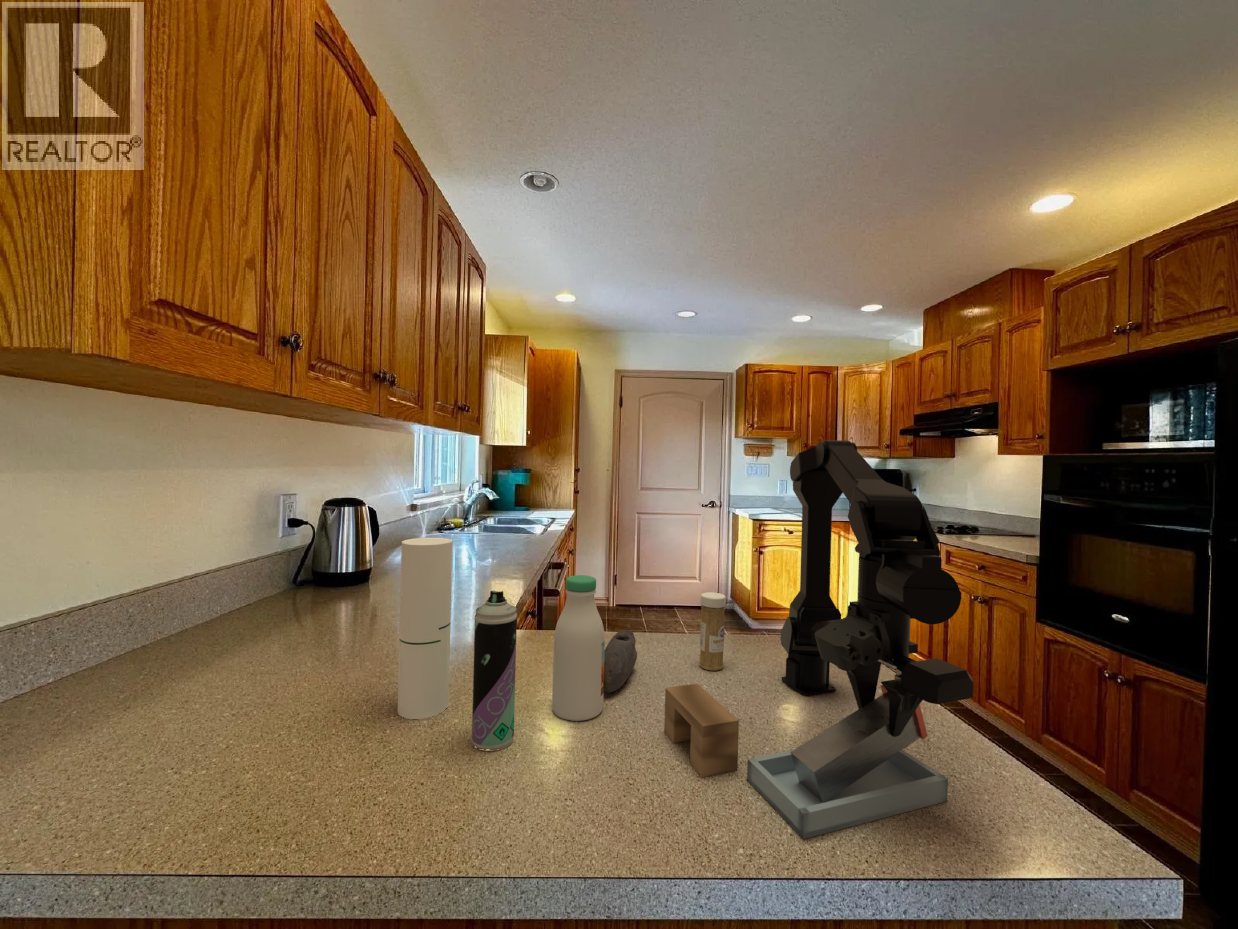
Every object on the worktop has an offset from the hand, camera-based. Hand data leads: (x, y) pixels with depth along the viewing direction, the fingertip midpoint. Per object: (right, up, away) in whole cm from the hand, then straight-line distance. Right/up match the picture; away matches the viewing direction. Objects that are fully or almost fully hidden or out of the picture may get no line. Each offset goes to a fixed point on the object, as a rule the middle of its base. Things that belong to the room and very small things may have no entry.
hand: (879, 726), depth 62 cm
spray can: (-48, -6, +7) cm, 49 cm away
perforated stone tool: (-32, -6, +26) cm, 42 cm away
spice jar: (-14, -6, +34) cm, 37 cm away
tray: (-5, -7, -2) cm, 8 cm away
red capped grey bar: (-3, -4, -1) cm, 5 cm away
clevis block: (-21, -6, +6) cm, 23 cm away
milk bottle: (-38, -6, +16) cm, 41 cm away
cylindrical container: (-61, -5, +15) cm, 63 cm away
